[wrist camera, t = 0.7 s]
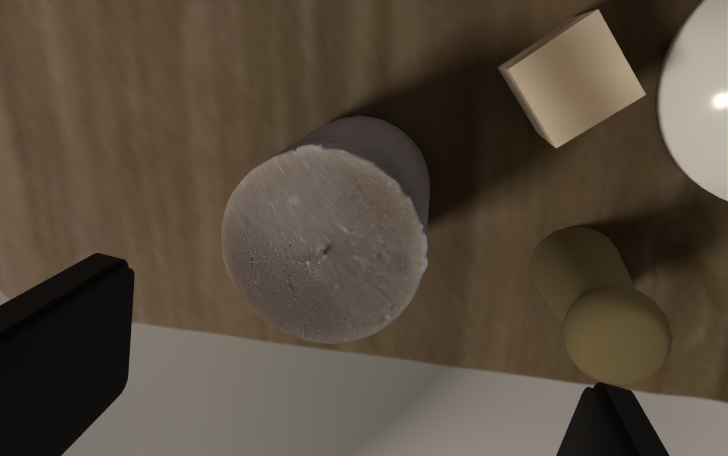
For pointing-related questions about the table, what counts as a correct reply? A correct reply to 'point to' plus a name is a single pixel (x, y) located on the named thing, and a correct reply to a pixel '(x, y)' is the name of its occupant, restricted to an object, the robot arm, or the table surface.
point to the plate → (697, 97)
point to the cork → (600, 307)
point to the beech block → (572, 78)
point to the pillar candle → (331, 231)
